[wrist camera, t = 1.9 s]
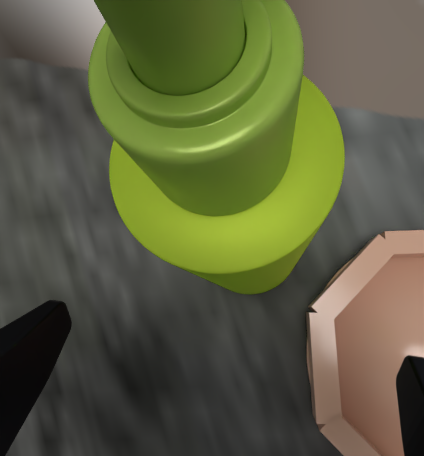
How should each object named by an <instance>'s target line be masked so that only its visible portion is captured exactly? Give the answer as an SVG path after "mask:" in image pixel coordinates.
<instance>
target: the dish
mask: <svg viewBox="0 0 424 456" xmlns="http://www.w3.org/2000/svg"><path fill="white" fill-rule="evenodd" d="M308 307H309V308H310V309H311V310H312V311H313V312H306V321H307V343H306V361H307V369H308V377H309V381H310V385H311V399H312V414H313V417H314V419H315V421H316V424H317V425H318V428H319V430H320V432H321V433H322V434H323V435H324V436H325V437H326V438H327V439H328V440H329V441H330V442H331V443H332V444H333V445H334V446H335V447H336V448H337V449H338V450H339V451H340V452H341V453H342V454H343V455H344V456H404V451H403V443H402V435H401V426H400V417H399V408H398V400H397V391H396V376H397V374H398V371H399V369H400V367H401V365H402V362H403V360H404V358H405V357H406V356H407V355H412V356H418V357H424V230H411V231H385V232H383V233H382V234H380V235H379V234H378V235H377V236H375V237H374V238H372V239H371V240H370V241H369V242H368V243H367V244H366V245H365V246H364V247H363V248H362V249H361V250H360V251H359V252H358V254H357V255H356V256H355V257H354V258H353V259H351V260H350V261H348V262H347V263H346V264H345V265H344V266H343V267H342V268H341V269H340V270H339V271H338V272H336V274H335V275H334V276H333V277H332V279H331V280H330V281H329V282H328V284H327V285H326V287H325V288H324V290H323V291H322V292H321V293H320V294H319V295H318V296H317V298H316V299H315V300H314V301H313V302H312V303H311V304H310V305H309V306H308Z"/></svg>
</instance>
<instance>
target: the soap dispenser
mask: <svg viewBox="0 0 424 456" xmlns="http://www.w3.org/2000/svg"><path fill="white" fill-rule="evenodd" d="M94 2H95V3H96V5H97V7H98V9H99V10H100V12H101V14H102V16H103V17H104V19H105V21H106V22H105V24H104V26H103V28H102V29H101V31H100V33H99V35H98V37H97V39H96V41H95V44H94V47H93V50H92V53H91V57H90V62H89V69H88V86H89V92H90V97H91V101H92V104H93V107H94V109H95V111H96V113H97V115H98V117H99V119H100V121H101V123H102V124H103V126H104V127H105V129H106V130H107V131H108V133H109V134H110V135H111V136H112V137H113V139H114V141H113V144H112V149H111V155H110V165H109V175H110V185H111V191H112V195H113V199H114V202H115V205H116V207H117V210H118V212H119V214H120V216H121V218H122V220H123V222H124V223H125V225H126V226H127V228H128V229H129V231H130V232H131V233H132V235H133V236H134V237H135V238H136V239H137V240H138V241H139V242H140V243H141V244H142V245H143V246H144V247H145V248H146V249H148V250H149V251H150V252H152V253H153V254H154V255H156V256H157V257H159V258H161V259H162V260H164V261H166V262H168V263H170V264H172V265H175V266H177V267H179V268H181V269H183V270H186V271H188V272H190V273H192V274H195V275H197V276H199V277H201V278H204V279H206V280H208V281H210V282H213V283H215V284H217V285H219V286H221V287H224V288H226V289H228V290H230V291H233V292H236V293H240V294H259V293H263V292H266V291H269V290H271V289H273V288H275V287H276V286H278V285H279V284H281V283H282V282H283V281H284V280H285V279H286V278H287V277H288V275H289V274H290V273H291V271H292V270H293V268H294V267H295V265H296V263H297V262H298V260H299V259H300V257H301V256H302V254H303V253H304V251H305V250H306V248H307V246H308V245H309V243H310V242H311V240H312V239H313V237H314V236H315V234H316V232H317V231H318V229H319V228H320V226H321V225H322V223H323V222H324V220H325V219H326V217H327V215H328V214H329V212H330V210H331V208H332V206H333V204H334V202H335V200H336V198H337V195H338V192H339V189H340V186H341V182H342V178H343V172H344V161H345V153H344V142H343V136H342V132H341V128H340V125H339V122H338V119H337V117H336V115H335V113H334V111H333V109H332V107H331V105H330V103H329V102H328V100H327V99H326V97H325V96H324V95H323V93H322V92H321V91H320V90H319V89H318V88H317V87H316V86H315V85H314V84H313V83H312V82H311V81H310V80H308V78H307V77H305V76H304V75H303V66H304V47H303V40H302V34H301V30H300V27H299V24H298V21H297V19H296V17H295V15H294V13H293V11H292V10H291V8H290V7H289V5H288V4H287V3H286V1H285V0H94Z"/></svg>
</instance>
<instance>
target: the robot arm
mask: <svg viewBox="0 0 424 456" xmlns="http://www.w3.org/2000/svg"><path fill="white" fill-rule="evenodd" d="M71 325H72V321H71V318H70V315H69V312H68V309H67V306H66V304H65V303H64V302H62V301H56V300H49V301H47V302H45V303H44V304H42V305H40V306H38V307H37V308H35V309H33V310H32V311H30V312H28V313H27V314H25V315H23V316H21V317H20V318H18V319H16V320H15V321H13V322H11V323H9V324H8V325H6V326H4V327H3V328H1V329H0V456H5V455H6V453H7V451H8V450H9V448H10V446H11V444H12V443H13V441H14V439H15V437H16V436H17V434H18V432H19V430H20V429H21V427H22V425H23V423H24V421H25V420H26V418H27V416H28V414H29V413H30V411H31V409H32V407H33V406H34V404H35V402H36V400H37V399H38V397H39V395H40V393H41V392H42V390H43V388H44V386H45V384H46V382H47V381H48V379H49V377H50V375H51V372H52V370H53V368H54V366H55V364H56V361H57V359H58V357H59V355H60V352H61V350H62V348H63V346H64V343H65V341H66V339H67V337H68V334H69V332H70V330H71ZM396 391H397V400H398V408H399V417H400V426H401V435H402V443H403V451H404V456H424V357H418V356H412V355H407V356H406V357H405V358H404V360H403V362H402V365H401V367H400V369H399V371H398V374H397V376H396Z"/></svg>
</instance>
